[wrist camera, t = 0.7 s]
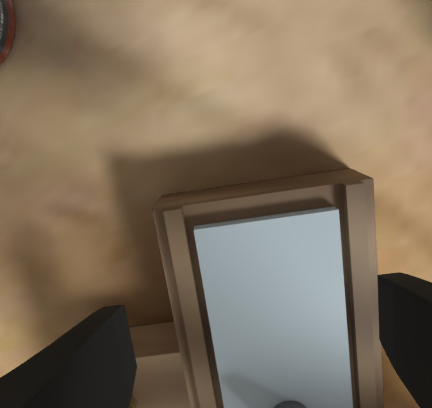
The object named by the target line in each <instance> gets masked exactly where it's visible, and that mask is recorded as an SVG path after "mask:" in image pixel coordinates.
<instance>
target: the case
mask: <svg viewBox="0 0 432 408" xmlns="http://www.w3.org/2000/svg"><path fill="white" fill-rule="evenodd" d="M333 206H335V207H336V208H337V209H339V219H340V232H341V246H342V260H343V274H344V288H345V302H346V316H347V330H348V344H349V358H350V372H351V386H352V400H353V408H384V393H383V372H382V351H381V342H380V340H379V312H378V279H377V275H378V267H377V246H376V225H375V204H374V183H373V178H371V177H369V176H366V175H364V174H362V173H360V172H357V171H355V170H353V169H350V168H349V169H342V170H335V171H329V172H322V173H315V174H308V175H301V176H294V177H287V178H280V179H273V180H266V181H259V182H252V183H245V184H239V185H232V186H225V187H218V188H211V189H204V190H197V191H190V192H183V193H176V194H169V195H162V196H161V198H160V199H159V201H158V202H157V203H156V205H155V206H154V208H153V209H152V213H153V218H154V223H155V228H156V233H157V238H158V243H159V248H160V253H161V258H162V263H163V268H164V274H165V279H166V284H167V289H168V294H169V299H170V304H171V309H172V314H173V319H174V322H166V323H158V324H151V325H143V326H135V327H129V330H130V335H131V339H132V344H133V349H134V353H135V358H136V363H137V370H136V376H135V382H134V387H133V392H132V396H133V397H134V399H135V400H136V403H137V408H224V405H223V399H222V393H221V387H220V381H219V375H218V370H217V364H216V358H215V352H214V346H213V341H212V335H211V329H210V323H209V317H208V311H207V306H206V300H205V294H204V288H203V282H202V276H201V271H200V265H199V259H198V253H197V247H196V241H195V236H194V226H197V225H205V224H212V223H219V222H226V221H233V220H240V219H247V218H255V217H262V216H269V215H276V214H283V213H290V212H297V211H304V210H312V209H319V208H326V207H333Z"/></svg>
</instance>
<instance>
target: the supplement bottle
mask: <svg viewBox="0 0 432 408" xmlns="http://www.w3.org/2000/svg"><path fill="white" fill-rule="evenodd" d="M12 2H13V1H12V0H0V65H1V64H2V63H3V62H4V60H5V59H6V57H7V56H8V54H9V52H10V50H11V49H12V45H13V40H14V37H15V25H16V23H15V12H14V8H13V3H12Z"/></svg>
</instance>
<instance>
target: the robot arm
mask: <svg viewBox="0 0 432 408" xmlns="http://www.w3.org/2000/svg"><path fill="white" fill-rule="evenodd" d="M377 279H378V312H379V340H380V342H381V344H382V346H383V348H384V350H385V352H386V354H387V356H388V358H389V360H390V362H391V364H392V366H393V368H394V369H395V371H396V373H397V374H398V376H399V377H400V379H401V380H402V382H403V383H404V385H405V386H406V388H407V389H408V391H409V392H410V394H411V395H412V397H413V398H414V399H415V401H416V402H417V404H418V405H419V407H420V408H432V283H431V282H428V281H425V280H423V279H420V278H417V277H414V276H411V275H408V274H404V273H400V272H399V273H391V274H382V275H377ZM136 370H137V363H136V358H135V353H134V349H133V344H132V339H131V335H130V330H129V325H128V320H127V316H126V311H125V306H124V305H116V306H108V307H103V308H101V309H99V310H97V311H96V312H94V313H93V314H91V315H90V316H88V317H87V318H86V319H84V320H83V321H82V322H80V323H79V324H77V325H76V326H75V327H73V328H72V329H71V330H69V331H68V332H67V333H65V334H64V335H63V336H61V337H60V338H58V339H57V340H56V341H54V342H53V343H52V344H50V345H49V346H47V347H46V348H44V349H43V350H42V351H40V352H39V353H37V354H36V355H34V356H33V357H31V358H30V359H28V360H27V361H26V362H24V363H23V364H21V365H20V366H18V367H17V368H15V369H14V370H12V371H10V372H9V373H7V374H6V375H4V376H2V377H1V378H0V408H129V405H130V401H131V397H132V392H133V387H134V382H135V376H136Z"/></svg>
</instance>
